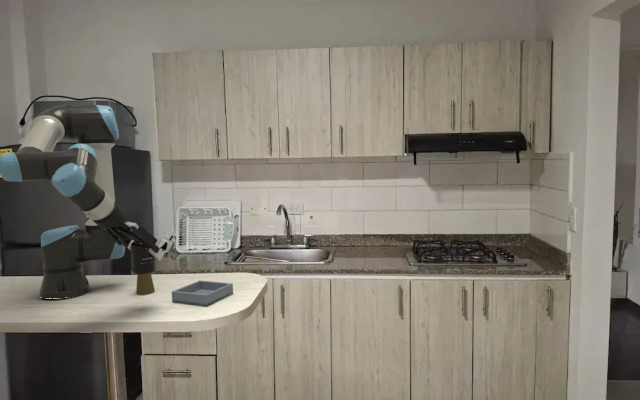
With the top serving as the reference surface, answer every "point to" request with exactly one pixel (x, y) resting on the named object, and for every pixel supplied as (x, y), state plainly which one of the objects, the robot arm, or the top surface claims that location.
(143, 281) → the cork
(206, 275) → the top surface
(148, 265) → the supplement bottle
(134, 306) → the top surface
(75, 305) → the top surface
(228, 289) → the tray
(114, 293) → the top surface
